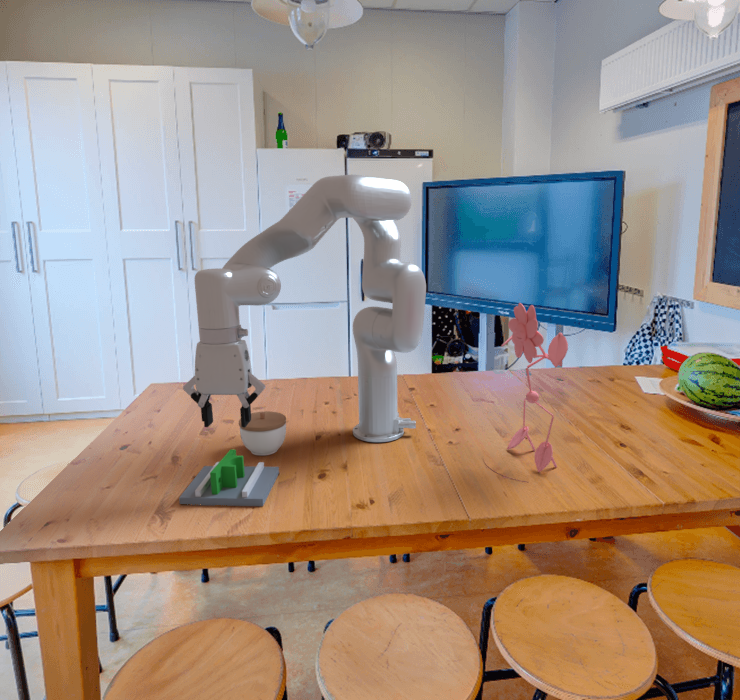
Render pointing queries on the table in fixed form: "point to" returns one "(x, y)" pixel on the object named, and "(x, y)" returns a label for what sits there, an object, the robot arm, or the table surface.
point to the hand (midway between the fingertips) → (227, 424)
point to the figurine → (525, 343)
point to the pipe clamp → (227, 472)
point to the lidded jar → (264, 432)
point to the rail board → (245, 494)
